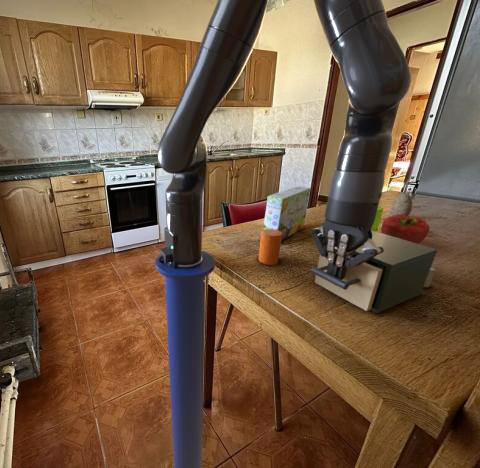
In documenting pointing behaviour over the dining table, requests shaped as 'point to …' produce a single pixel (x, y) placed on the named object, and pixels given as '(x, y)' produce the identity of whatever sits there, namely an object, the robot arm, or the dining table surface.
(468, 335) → the dining table surface
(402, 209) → the decorative egg
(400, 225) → the vegetable
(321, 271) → the drawer
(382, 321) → the dining table surface
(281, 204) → the snack box
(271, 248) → the spice tin
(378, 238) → the cabinet
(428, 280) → the lighter
